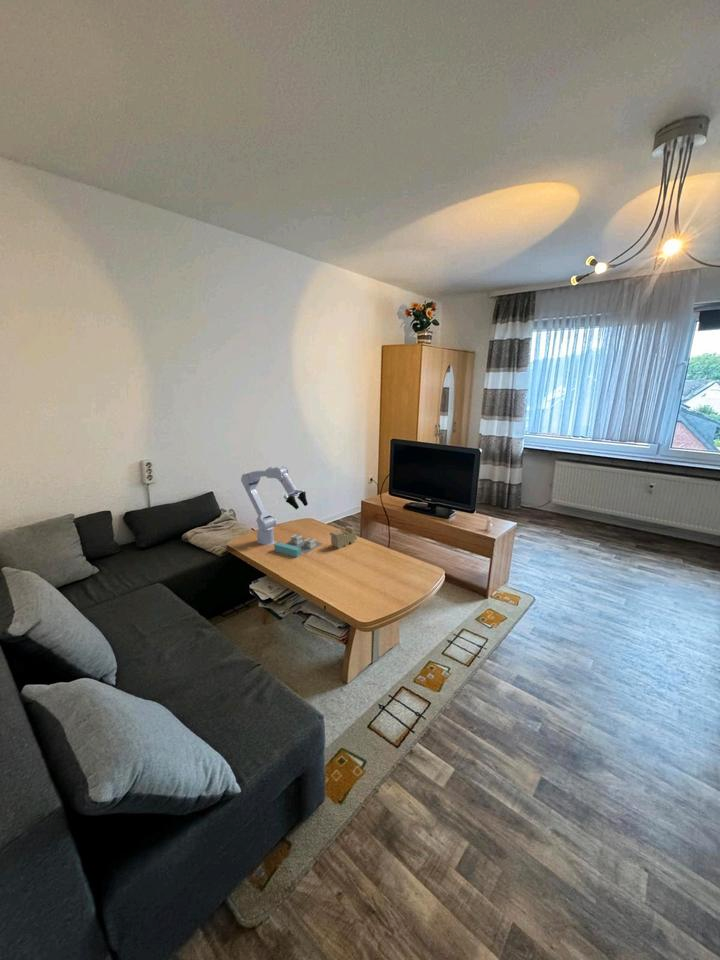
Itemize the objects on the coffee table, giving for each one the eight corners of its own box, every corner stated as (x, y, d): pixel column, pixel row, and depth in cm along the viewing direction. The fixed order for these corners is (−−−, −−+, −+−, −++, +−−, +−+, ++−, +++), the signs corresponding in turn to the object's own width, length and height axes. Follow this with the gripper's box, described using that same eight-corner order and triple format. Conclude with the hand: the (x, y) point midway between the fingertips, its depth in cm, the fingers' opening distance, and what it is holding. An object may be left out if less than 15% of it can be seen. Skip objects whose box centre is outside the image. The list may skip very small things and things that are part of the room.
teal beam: (274, 552, 217) (274, 544, 216) (278, 550, 220) (278, 542, 219) (297, 558, 210) (296, 550, 209) (301, 556, 213) (300, 548, 212)
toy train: (356, 542, 232) (357, 527, 229) (336, 551, 220) (336, 535, 217) (350, 540, 235) (350, 524, 233) (329, 548, 224) (329, 532, 221)
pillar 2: (304, 546, 223) (303, 540, 222) (309, 543, 227) (309, 537, 226) (310, 548, 221) (310, 542, 220) (316, 545, 225) (316, 539, 224)
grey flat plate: (281, 547, 223) (281, 546, 223) (299, 537, 237) (299, 537, 237) (305, 554, 215) (305, 553, 214) (322, 544, 228) (322, 543, 228)
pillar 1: (290, 542, 228) (290, 536, 227) (296, 540, 232) (296, 533, 231) (297, 544, 226) (297, 538, 225) (302, 541, 230) (302, 535, 229)
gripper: (284, 484, 201) (297, 506, 199) (301, 479, 213) (314, 500, 211) (276, 491, 205) (290, 513, 203) (294, 486, 217) (307, 506, 215)
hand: (302, 506), depth 207 cm, fingers open, 7 cm apart
